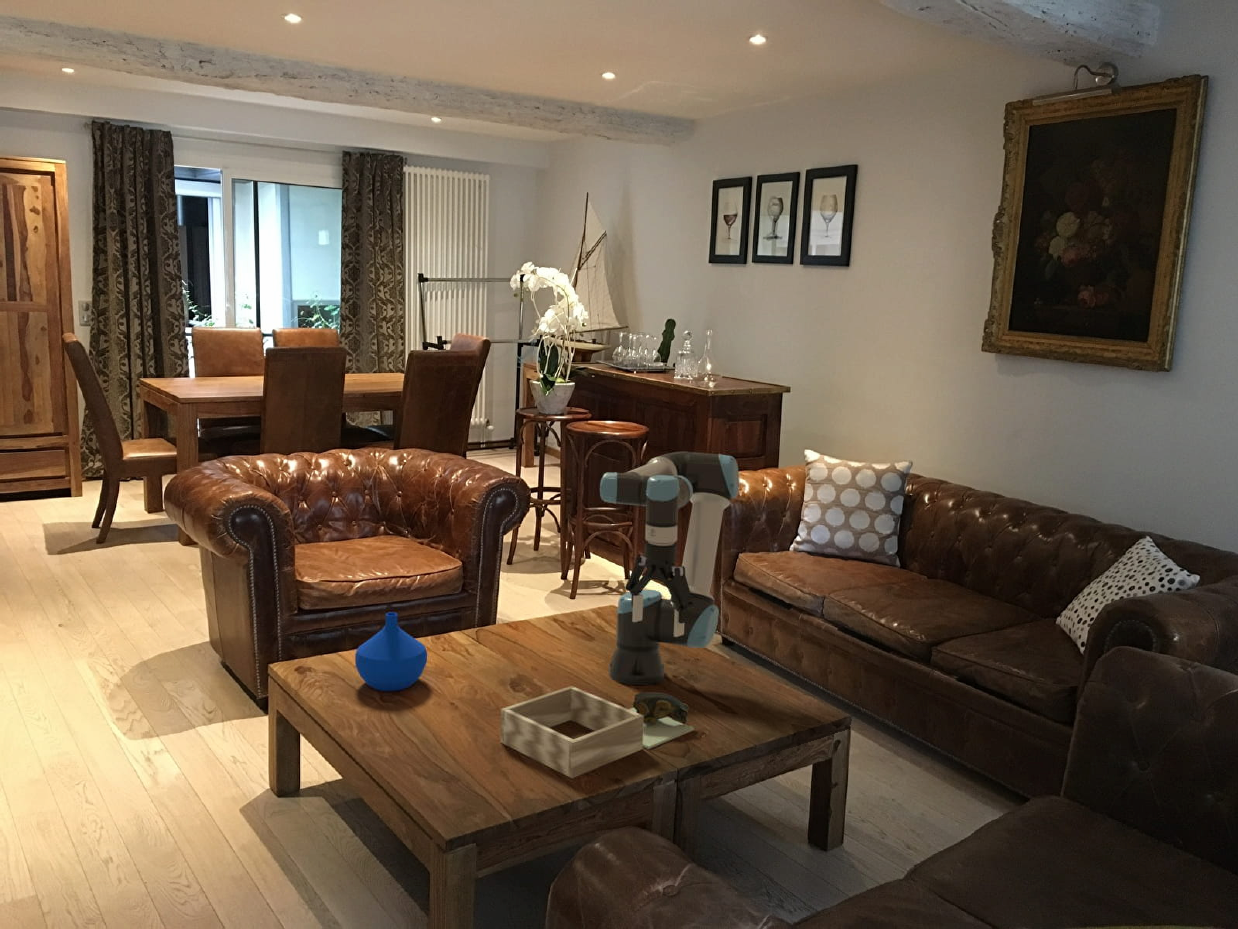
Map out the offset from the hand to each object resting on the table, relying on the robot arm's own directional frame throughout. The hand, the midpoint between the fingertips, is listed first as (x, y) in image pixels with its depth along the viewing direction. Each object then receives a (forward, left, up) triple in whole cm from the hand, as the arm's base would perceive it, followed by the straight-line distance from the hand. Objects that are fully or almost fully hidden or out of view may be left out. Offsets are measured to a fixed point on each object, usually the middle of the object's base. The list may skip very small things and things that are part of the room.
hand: (657, 628), depth 244 cm
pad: (0, -3, -24) cm, 24 cm away
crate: (-4, -23, -24) cm, 34 cm away
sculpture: (+1, -4, -25) cm, 25 cm away
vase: (-62, -33, -24) cm, 75 cm away
